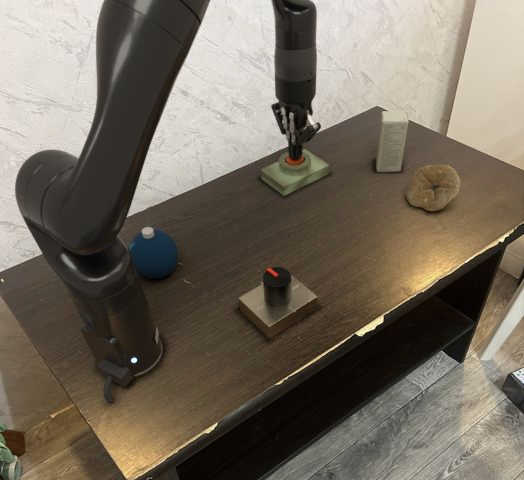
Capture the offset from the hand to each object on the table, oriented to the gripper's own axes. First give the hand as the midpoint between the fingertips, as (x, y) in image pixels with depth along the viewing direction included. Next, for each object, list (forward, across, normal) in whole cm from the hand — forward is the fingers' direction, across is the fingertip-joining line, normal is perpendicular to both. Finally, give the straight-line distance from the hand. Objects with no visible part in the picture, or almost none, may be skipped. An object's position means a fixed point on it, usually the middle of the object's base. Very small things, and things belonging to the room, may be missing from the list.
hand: (295, 158), depth 103 cm
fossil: (+4, +24, +15) cm, 29 cm away
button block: (+4, 0, 0) cm, 4 cm away
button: (+2, 0, 0) cm, 2 cm away
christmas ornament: (+4, +7, -37) cm, 38 cm away
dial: (+1, +28, -26) cm, 38 cm away
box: (+4, +10, +17) cm, 20 cm away
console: (+4, +28, -26) cm, 39 cm away
